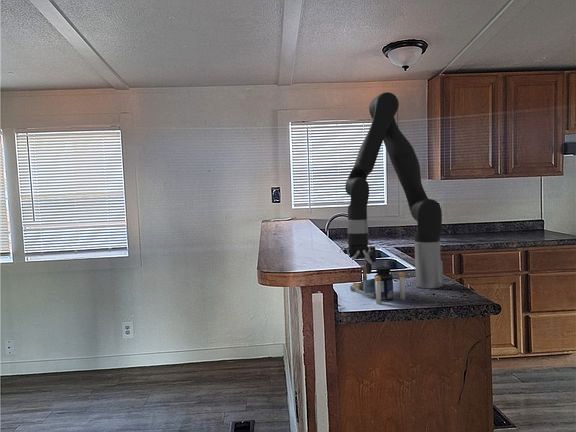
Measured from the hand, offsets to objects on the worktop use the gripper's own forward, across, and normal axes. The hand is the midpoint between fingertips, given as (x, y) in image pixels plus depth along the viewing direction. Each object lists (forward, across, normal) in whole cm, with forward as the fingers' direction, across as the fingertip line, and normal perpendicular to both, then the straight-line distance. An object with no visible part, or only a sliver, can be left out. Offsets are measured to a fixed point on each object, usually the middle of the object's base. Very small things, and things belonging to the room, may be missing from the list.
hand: (358, 275), depth 167 cm
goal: (+6, 0, +18) cm, 19 cm away
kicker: (+5, 0, +4) cm, 6 cm away
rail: (+6, 0, +4) cm, 8 cm away
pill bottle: (+6, 0, +15) cm, 16 cm away
